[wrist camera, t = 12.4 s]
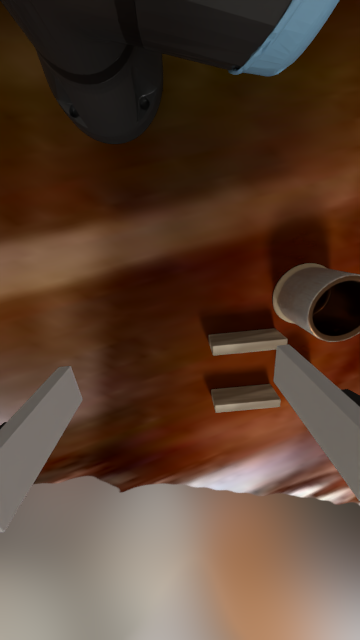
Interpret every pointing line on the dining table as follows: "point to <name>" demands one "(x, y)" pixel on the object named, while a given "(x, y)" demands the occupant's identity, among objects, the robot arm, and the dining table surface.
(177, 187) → the dining table surface
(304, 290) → the planter
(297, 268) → the mat
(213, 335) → the cradle
